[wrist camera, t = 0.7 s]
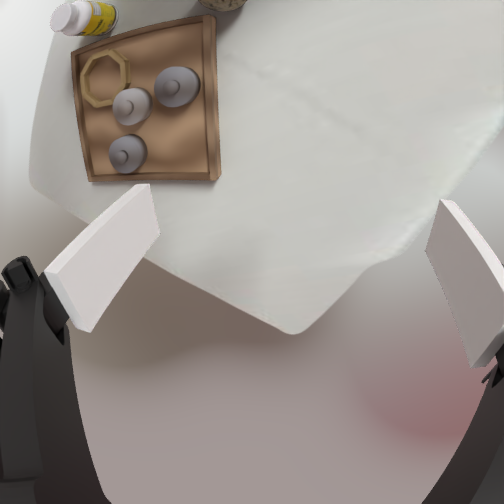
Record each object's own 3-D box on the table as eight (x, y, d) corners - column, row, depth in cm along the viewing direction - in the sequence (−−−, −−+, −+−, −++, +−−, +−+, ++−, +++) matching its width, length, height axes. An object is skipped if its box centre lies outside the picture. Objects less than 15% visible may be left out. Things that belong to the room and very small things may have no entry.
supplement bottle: (95, 42, 28) (49, 44, 20) (88, 16, 25) (43, 14, 18) (123, 24, 27) (77, 20, 19) (115, -2, 24) (71, -10, 16)
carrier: (81, 51, 29) (59, 53, 25) (215, 17, 26) (202, 10, 22) (97, 176, 42) (79, 188, 38) (221, 174, 38) (210, 187, 34)
